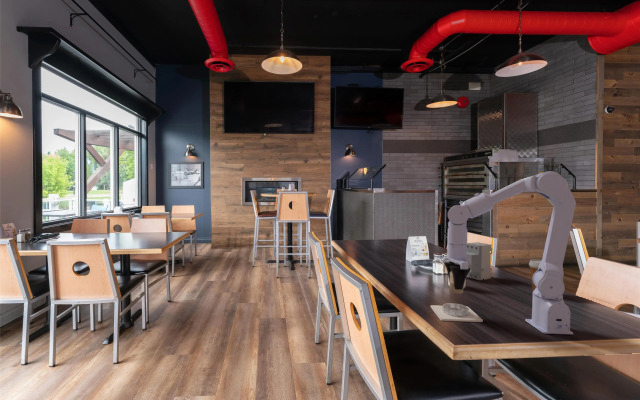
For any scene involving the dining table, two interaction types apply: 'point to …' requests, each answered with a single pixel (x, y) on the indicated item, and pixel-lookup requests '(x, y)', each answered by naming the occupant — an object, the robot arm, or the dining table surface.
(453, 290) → the maple peg
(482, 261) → the circuit breaker
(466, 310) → the peg holder
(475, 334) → the dining table surface
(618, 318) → the dining table surface
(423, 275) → the dining table surface
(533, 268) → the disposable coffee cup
